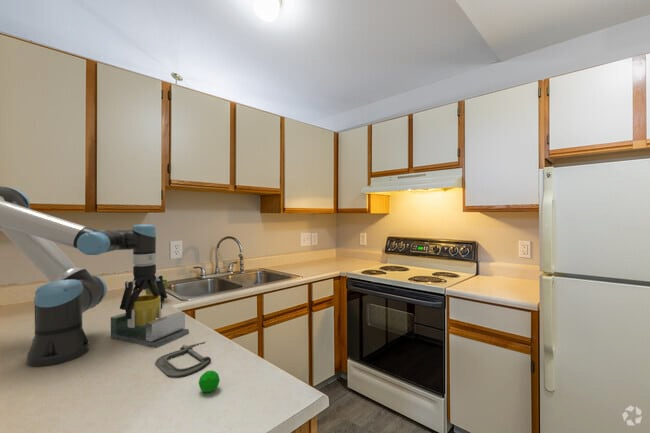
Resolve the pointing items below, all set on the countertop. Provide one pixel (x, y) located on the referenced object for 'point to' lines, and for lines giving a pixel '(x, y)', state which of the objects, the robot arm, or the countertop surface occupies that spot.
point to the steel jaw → (165, 326)
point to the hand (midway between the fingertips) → (145, 322)
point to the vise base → (139, 332)
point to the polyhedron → (209, 381)
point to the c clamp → (176, 372)
